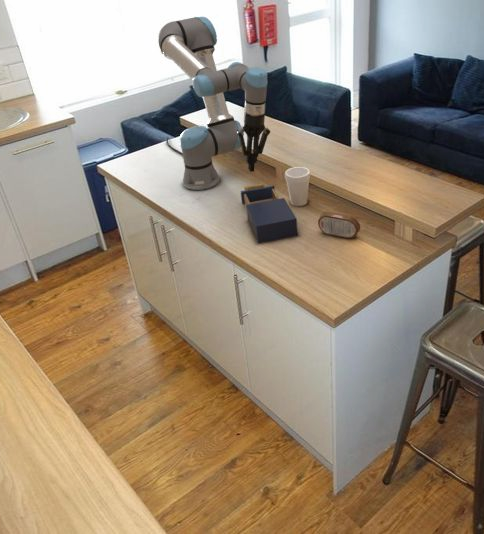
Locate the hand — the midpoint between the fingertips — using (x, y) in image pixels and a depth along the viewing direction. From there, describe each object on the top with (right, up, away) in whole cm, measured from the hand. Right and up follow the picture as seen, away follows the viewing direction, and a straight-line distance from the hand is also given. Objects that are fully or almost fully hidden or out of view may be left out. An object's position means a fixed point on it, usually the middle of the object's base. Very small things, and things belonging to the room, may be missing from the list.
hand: (251, 169), depth 219 cm
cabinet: (+9, -24, -12) cm, 28 cm away
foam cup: (+19, -12, +3) cm, 23 cm away
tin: (+32, -27, -19) cm, 46 cm away
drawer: (+4, -14, +1) cm, 14 cm away
